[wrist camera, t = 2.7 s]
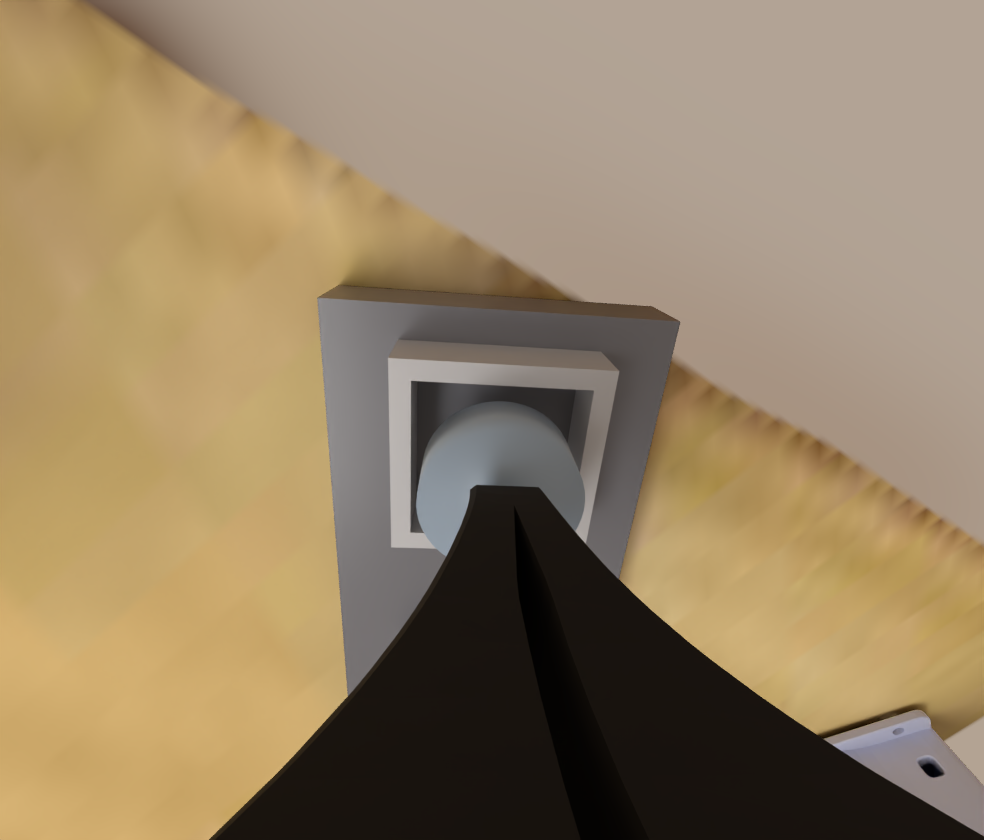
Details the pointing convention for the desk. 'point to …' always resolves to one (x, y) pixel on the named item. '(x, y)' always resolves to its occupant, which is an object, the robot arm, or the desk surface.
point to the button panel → (455, 386)
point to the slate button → (494, 465)
